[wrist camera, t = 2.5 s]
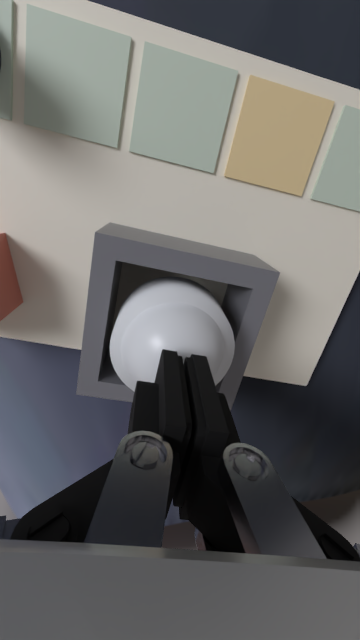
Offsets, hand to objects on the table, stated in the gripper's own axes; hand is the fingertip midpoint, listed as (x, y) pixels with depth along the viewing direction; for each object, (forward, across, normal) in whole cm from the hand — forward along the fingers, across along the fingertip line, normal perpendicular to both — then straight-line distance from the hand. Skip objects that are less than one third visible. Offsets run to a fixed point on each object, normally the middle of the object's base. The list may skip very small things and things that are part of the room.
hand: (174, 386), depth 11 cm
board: (+9, +2, -5) cm, 10 cm away
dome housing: (+9, 0, 0) cm, 9 cm away
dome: (+5, 0, 0) cm, 5 cm away
